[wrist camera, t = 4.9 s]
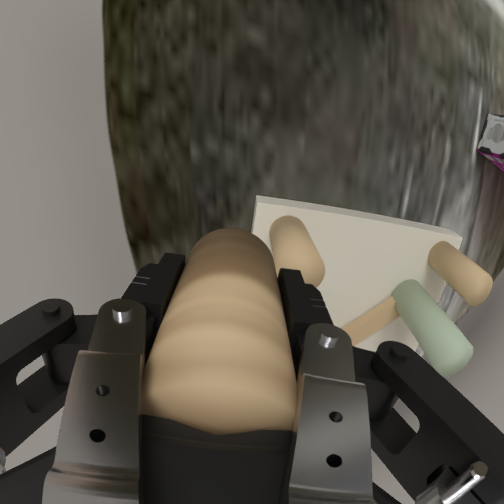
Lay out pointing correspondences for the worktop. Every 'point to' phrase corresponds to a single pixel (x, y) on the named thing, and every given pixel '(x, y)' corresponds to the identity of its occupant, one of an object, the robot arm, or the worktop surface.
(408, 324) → the hinged leg
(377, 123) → the worktop surface
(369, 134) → the worktop surface
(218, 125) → the worktop surface
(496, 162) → the candy bar box
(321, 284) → the stool seat
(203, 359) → the loose leg
